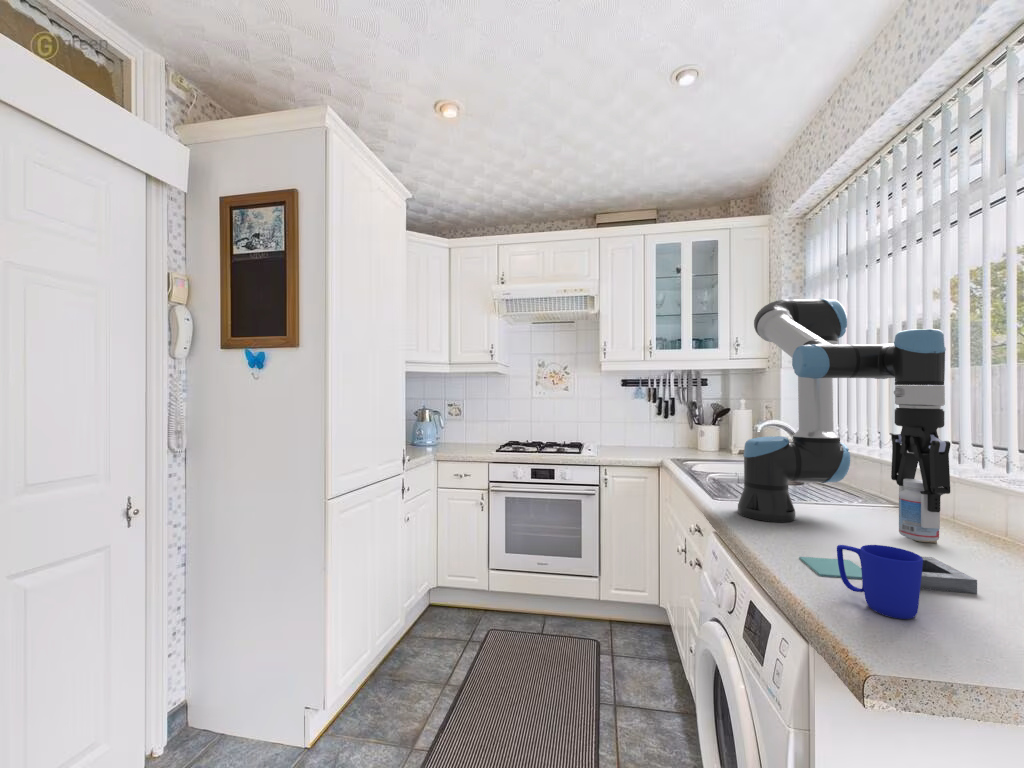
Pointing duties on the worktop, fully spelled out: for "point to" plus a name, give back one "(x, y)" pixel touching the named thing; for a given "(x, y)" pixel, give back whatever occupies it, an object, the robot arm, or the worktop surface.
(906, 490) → the pill bottle
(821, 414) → the robot arm
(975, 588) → the grey square frame
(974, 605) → the worktop surface
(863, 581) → the mug
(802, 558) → the mat
